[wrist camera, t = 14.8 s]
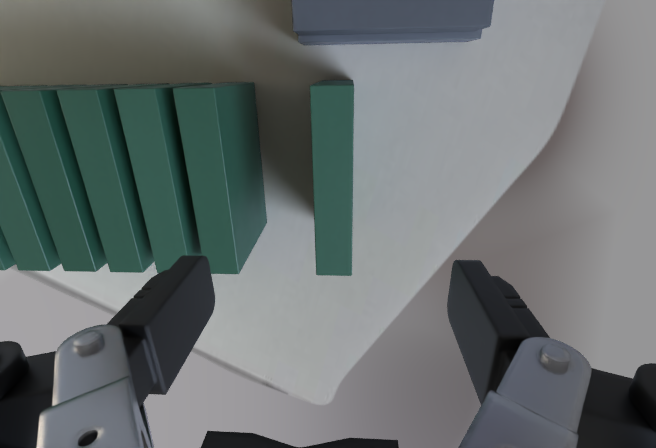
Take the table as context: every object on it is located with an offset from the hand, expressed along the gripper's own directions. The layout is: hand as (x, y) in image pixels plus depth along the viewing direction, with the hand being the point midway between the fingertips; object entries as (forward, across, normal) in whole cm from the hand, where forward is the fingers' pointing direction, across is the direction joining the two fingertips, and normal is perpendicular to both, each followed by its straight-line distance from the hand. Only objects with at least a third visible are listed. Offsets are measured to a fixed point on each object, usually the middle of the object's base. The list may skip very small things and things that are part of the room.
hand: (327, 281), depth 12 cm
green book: (+20, 0, 0) cm, 20 cm away
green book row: (+20, +18, 0) cm, 27 cm away
